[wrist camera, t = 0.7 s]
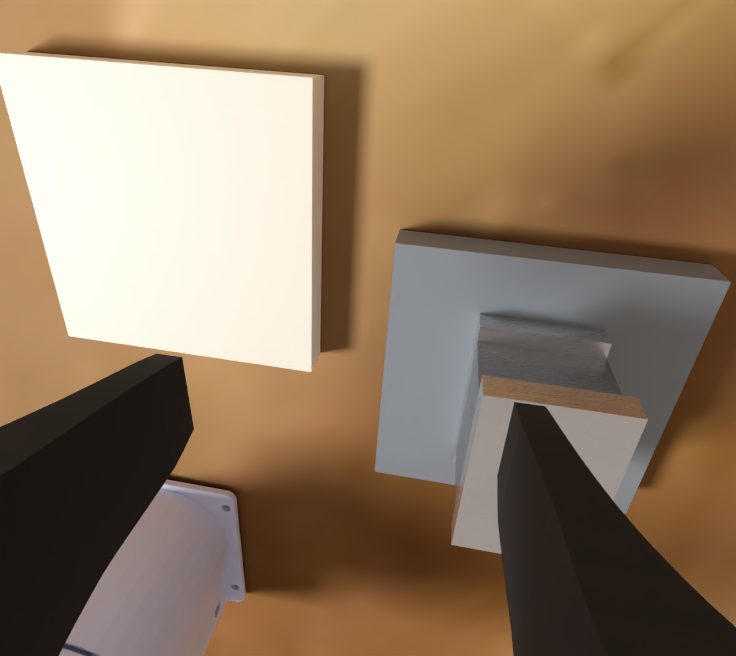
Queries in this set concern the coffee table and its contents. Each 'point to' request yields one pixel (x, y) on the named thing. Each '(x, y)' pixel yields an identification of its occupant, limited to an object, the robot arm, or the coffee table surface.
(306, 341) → the stand
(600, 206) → the coffee table surface
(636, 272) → the stand
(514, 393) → the block
